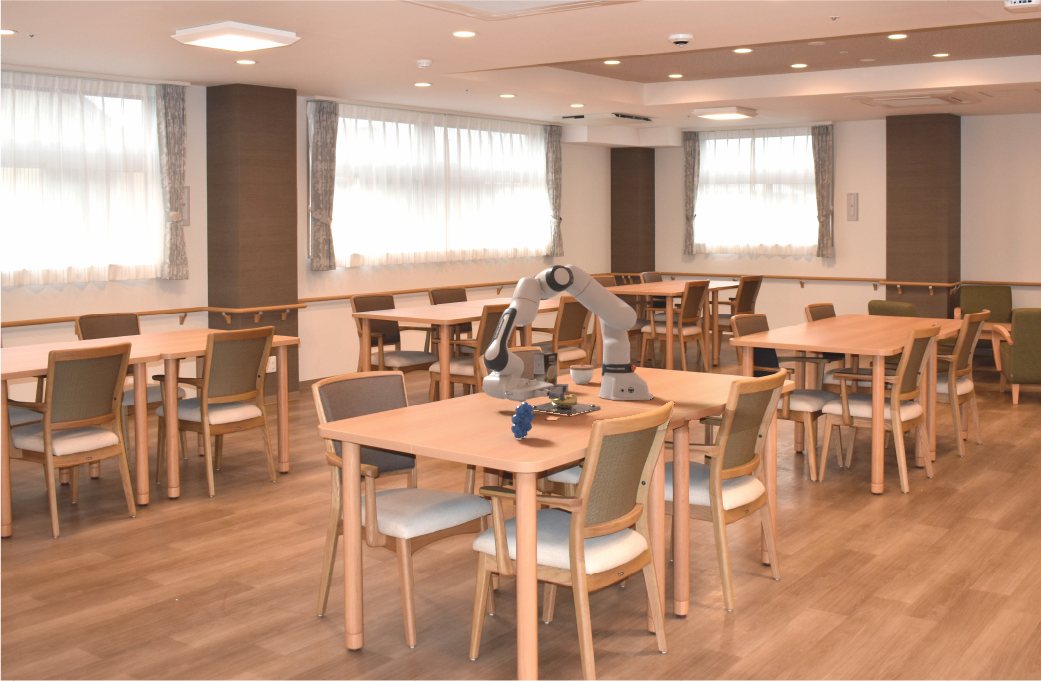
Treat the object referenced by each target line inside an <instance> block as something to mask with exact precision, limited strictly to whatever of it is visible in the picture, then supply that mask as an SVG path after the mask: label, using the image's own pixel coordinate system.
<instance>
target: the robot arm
mask: <svg viewBox="0 0 1041 681" xmlns="http://www.w3.org/2000/svg"><path fill="white" fill-rule="evenodd" d="M564 291H565V292H567V293H568V294H569V295H570V296H571V297H573V298H574V299H575V300H576V301H577V302H579V304H581V305H582V306H583V307H584V308H586V309H587V310H589V311H590V312H591V313H592V314H594V315H596V316H597V318H598V320H599V323H600V332H601V338H602V362H601V371H600V372H601V376H602V377H601V383H600V389H599V394H598V397H599V398H602V399H606V400H607V399H608V400H612V401H651V400H653V399H654V398H653V397H654V394H653V393H652V392H649V387H648V383H647V381H646V380H645V379H644V378H642V377H641V376H640V375H638V373H637V372H635V370H637V366H636V365H635V364H633V363H631V343H630V340H629V335H628V331H627V330H631V329H632V328H634V326H636V323H637V321H638V320H637V319H638V315H637V312H636V311H635V309H634V308H633V307H632V306H630V305H629V304H628V303H626V302H625V301H624V300H623V299H621V298H620V297H618V296H617V295H616V294H614V293H613V292H611V291H610V290H609V289H607V288H606V287H604V286H603V284H601V283H600V282H598V281H597V280H596V279H595V278H594V277H592V276H591V275H590V274H589V273H588V272H586V271H585V270H583V269H582V268H580V267H579V266H577V265H575V264H573V263H569V264H565V265H560V264H555V265H552V266H549V267H547V268H545V269H543V270H542V271H540V272H539V273H538V274H536V275H534V276H533V277H531V276H524V277H522V278H519V280H518V281H517V284H516V286H515V288H514V292H513V294H512V296H511V301H510V304H509V306H508V307H507V308H506V309H505V310H503V312H502V314H501V316H500V318H499V321H498V323H497V324H496V325H497V326H496V328H495V331H494V333H493V336H492V339H491V341H490V342H489V344H488V346H487V348H486V349H485V351H484V353H483V364H484V366H485V367H486V368H487V369H488V370H491V371H492V372H490V373H489V374H488V375H487V376H485V377H483V379H482V388H483V391H484V393H485V394H486V395H487V396H489V397H491V398H495V399H500V400H509V401H513V402H519V403H523V402H527V400H532V399H537V398H541V397H542V398H543V397H544V398H546V397H549V393H550V392H551V391H552V390H553V389H554V385H553V384H551V383H546V382H541V381H537V380H536V379H534V378H525V377H523V374H524V372H525V369H526V368H525V366H526V364H525V362H524V360H523V359H522V358H521V357H519V356H518V355H517V354H515V353H514V352H512V351H511V350H509V348H508V342H509V340H510V338H511V334H512V332H513V329H514V327H516V326H521V327H522V326H528V325H530V324H532V323H533V322H534V321H535V320H536V317H537V315H538V313H539V312H538V311H539V307H540V303H541V301H547V300H549V299H551V298H553V297H556V296H558V295H559V294H560V293H562V292H564ZM652 398H653V399H652ZM650 399H651V400H650Z"/></svg>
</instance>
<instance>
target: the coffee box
mask: <svg viewBox="0 0 1041 681" xmlns="http://www.w3.org/2000/svg"><path fill="white" fill-rule="evenodd" d="M533 379H536V380H537V381H541V382H546V383H551V384H553V385H554V389H555V388H556V385H557V384H558V352H554V351H553V352H552V351H543V352H537V353H534V354H533Z"/></svg>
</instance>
